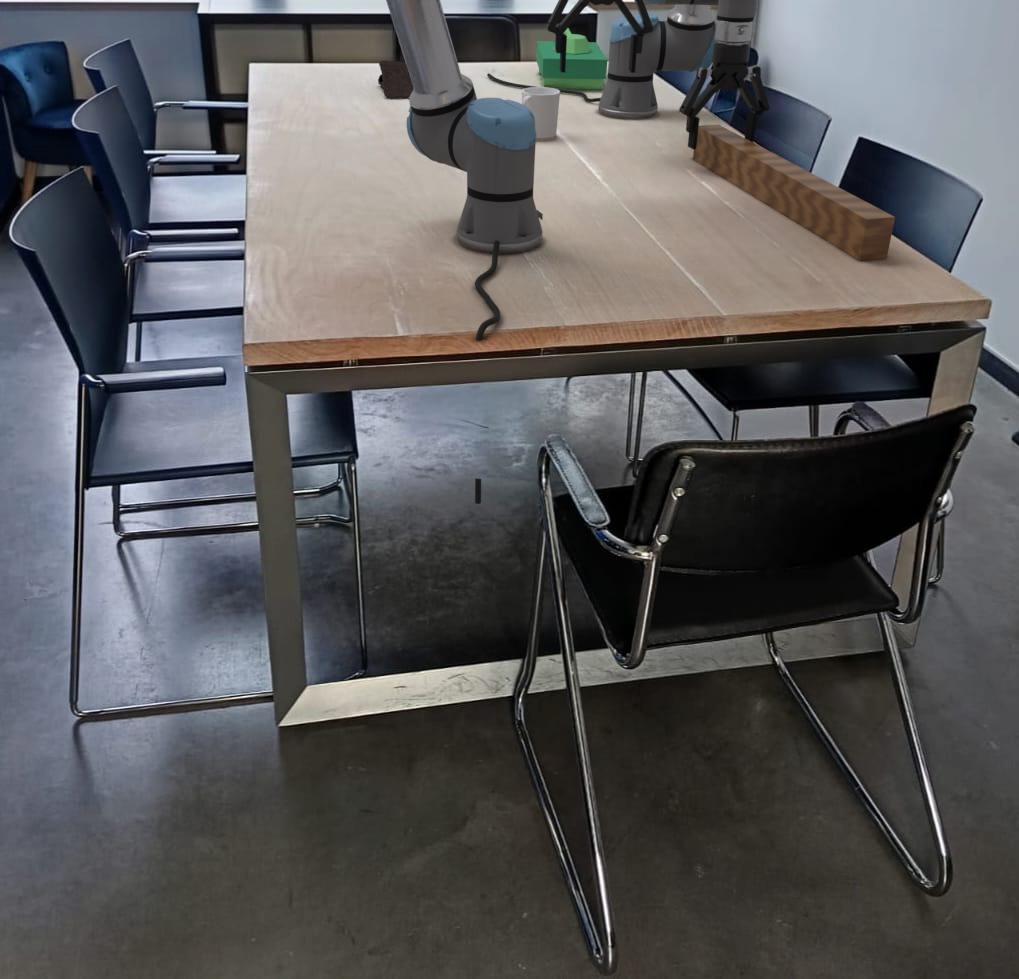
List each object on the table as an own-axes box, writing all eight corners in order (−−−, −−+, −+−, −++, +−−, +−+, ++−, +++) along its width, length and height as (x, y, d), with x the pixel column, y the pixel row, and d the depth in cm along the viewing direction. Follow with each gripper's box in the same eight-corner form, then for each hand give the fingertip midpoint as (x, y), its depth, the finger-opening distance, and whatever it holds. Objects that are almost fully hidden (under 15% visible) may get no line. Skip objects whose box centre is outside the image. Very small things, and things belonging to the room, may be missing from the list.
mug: (536, 129, 265) (537, 85, 260) (565, 136, 261) (567, 91, 255) (507, 137, 258) (508, 92, 253) (537, 144, 253) (538, 98, 248)
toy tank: (594, 24, 327) (608, 45, 298) (591, 67, 334) (605, 92, 304) (535, 23, 327) (543, 44, 297) (533, 66, 333) (541, 91, 303)
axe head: (443, 87, 294) (392, 77, 287) (436, 115, 299) (385, 106, 292) (421, 62, 307) (371, 52, 300) (414, 89, 311) (365, 80, 304)
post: (886, 258, 192) (895, 217, 188) (859, 260, 191) (867, 219, 187) (714, 157, 247) (718, 124, 243) (692, 159, 246) (696, 125, 242)
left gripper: (666, -52, 205) (656, 67, 216) (534, -54, 203) (531, 67, 214) (675, -48, 199) (664, 75, 210) (539, -50, 196) (535, 74, 207)
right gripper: (685, 46, 221) (675, 153, 232) (794, 43, 228) (779, 147, 239) (669, 41, 227) (660, 145, 238) (776, 38, 234) (763, 139, 245)
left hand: (597, 71), depth 212 cm, fingers open, 13 cm apart
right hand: (720, 146), depth 238 cm, fingers open, 13 cm apart
